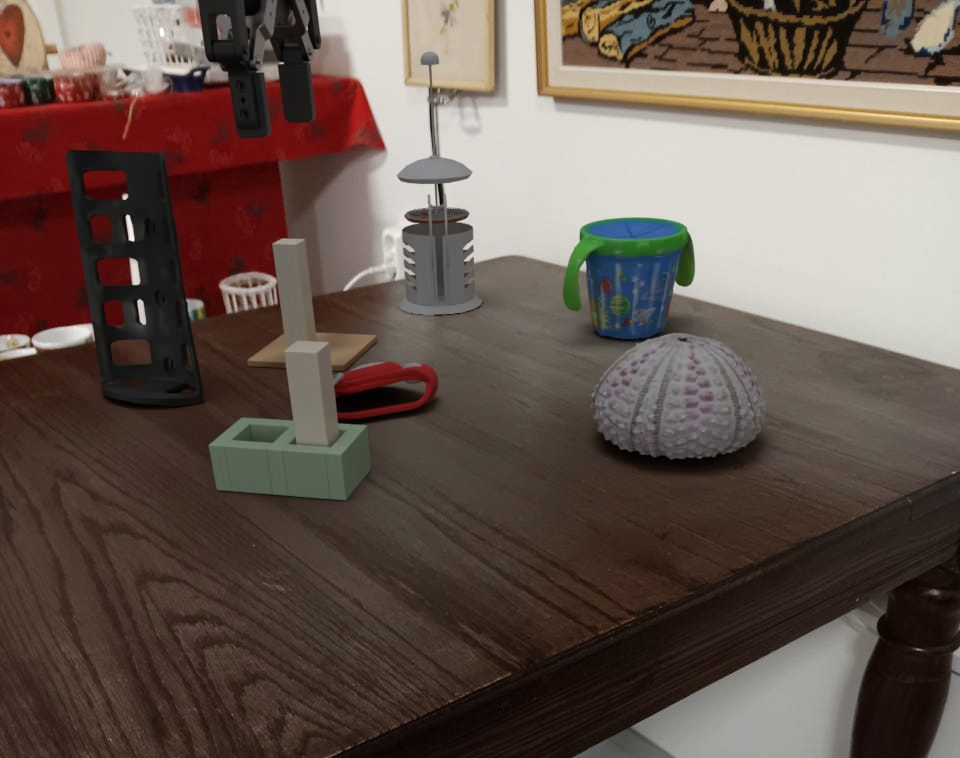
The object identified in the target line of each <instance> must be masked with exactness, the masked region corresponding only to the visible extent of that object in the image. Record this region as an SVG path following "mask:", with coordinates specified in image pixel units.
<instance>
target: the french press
mask: <svg viewBox="0 0 960 758" xmlns="http://www.w3.org/2000/svg"><path fill="white" fill-rule="evenodd" d="M420 65H421V66H428V74H429V93H430V94H429V95H430V96H429V97H430V115H431V117H430V118H431V136H432V137H431V139H432V155H430V156H428V157H426V158H420V159H417V160H415V161H413V162H411V163H409V164H407V165H405V166H404V167H403V169H401V170H400V171H399V173H397V174H396V177H397V179H398V180H399V181H400V182H402V183H406V184H416V185H434V200H435V205H433V204H432V203H431V200H432V199H431V194H427V204H428V206H427V207H421V208H417V209H416V208H414V209H412V210H409V211H407V212H406V213H405V214H404V215H403V216H404V218H405V220H406V221H408V222H410V223H413V224H409V225H406V226H405V227H403V228H402V229H401V236H402V237H401V239H402V242H403V244H404V245H405V246H409V247H410V248H411V249H412V250H413V251H410V250H408V248H406V247H402V251H403V252H402V253H403V256H405V257H406V258H407V259H410V260H411V261H412V262H413V263H412V262H409V261H408V260H406V259H403V266H404V268H405V269H406V270H408V271H411V273H413V274H410V273H409V272H408V271H404V278H405V279H406V281H408V282H410V283H412V284H413V285H409V284H408V283H407V282H405V283H404V286H405V287H404V288H405V296H404V298H403V299H402V300H401V301H400V303H399V304H398V307H399V309H400V310H401V311H403V312H406V313H409V314H411V313H413V314H412V315H419V314H421V315H420V316H434V315H433V314H454V313H460V312H465V311H468V310H471V309H474V308H476V307H478V306H479V305H480V304H481V302H482V301H483V299H481V298H480V297H479V296H478V295H477V294H476V289H475V288H476V284H475V279H473V280H472V281H471V282H470V283H469V281H470V279H472V278H473V277H474V276H475V268H472V269H471V270H470V272H467V271H468V269H469V268H471V267H472V266H473V265H474V264H475V257H474V256H472V257H471V258H470V259H469V260H467V261H466V259H468V257H469V256H471V255H472V254H473V253H474V252H475V249H474V248H475V247H474V244H471V245H470V247H468V248H467V249H464V248H465V247H466V246H467V245H468V244H470V243H471V242H472V241H473V240H474V226H472V225H471V224H468V223H465V222H462V221H464V220H466V219H468V218H469V216H470V214H471V213H470V212H469V210H467V209H466V208H460V207H454V206H453V207H452V206H450V207H449V206H448V207H447V205H448V204H447V194H446V193H443V194H442V195H443V196H442V197H443V198H442V199H443V202H442V204H440V205H438V204H439V203H438V185H439V184H441V185H442V184H451V183H457V182H462V181H464V180H468V179H469V178H470V177H471V176H472V174H473V173H474V172H473V171H472V170H471V169H470V168H468V167H467V166H466V165H465V164H464V163H462V162H460V161H457V160H455V159H452V158H447V157H443V156H442V157H441V156H440V155H437V154H436V140H435V137H436V136H435V117H434V116H435V115H434V94H433V74H432V71H433V70H432V66H435V65H440V58H439V55H438V54H437V53H436V52H435V51H425V52H424V53H422V55H421V56H420ZM465 313H466V312H465ZM422 314H423V315H422ZM454 315H455V314H454Z"/></svg>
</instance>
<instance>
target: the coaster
mask: <svg viewBox="0 0 960 758" xmlns="http://www.w3.org/2000/svg"><path fill="white" fill-rule="evenodd" d="M316 339H317V342H329V345H330V355H331V364H332V372H333V371H335V372H346V371H347V370H348V369H349V368H350V367H351V366H352V365H353V364H354V363H355V362H356V361H357V360H358V359H359V358H361V356H363V355H364V354H365V353H367V351H368V350H369V349H370V348H371V347H372V346H373V345H375V344H376V342H378V335H377V334H361V333H360V334H358V333H336V332H316ZM285 350H286V344H285V336H284V333H282V334H281V335H279V336H278V337H277V338H276V339H274V340H273V341H271V342H270V343H268V345H266V346H265V347H263V348H262V349H261V350H259V351H257V353H255V354H254V355H252V356H251V357H249V358H248V359H247V360H246V363H247V367H254V368H255V367H256V368H257V367H258V368H276V369H286V362H285V355H284V351H285Z"/></svg>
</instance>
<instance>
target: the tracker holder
mask: <svg viewBox="0 0 960 758" xmlns="http://www.w3.org/2000/svg"><path fill="white" fill-rule="evenodd" d="M333 382H334V391H335V399H337V397H343V396H349V395H352V394H357V393H361V392H364V391H367V390H372V389H376V388H380V387H385V386H389V385H393V384H397V383H401V382H405V383H407V384H409V385H410V384H412V385H413V384H416V385H417V384H419V383H422V382H423V383H424V384H425V385H426V386H425V391H424V393H423V395H422V396H421V397H420V398H419V399H418V400H415V401H410V402H409V401H408V402H404V403H397V404H392V405H387V406H381V407H376V408H375V407H374V408H368V409H363V410H357V411H351V412H337V419H338V421H349V420H350V421H351V420H361V419H367V418H373V417H379V416H383V415H384V416H386V415H390V414H395V413H401V412H406V411H412V410H416V409H418V408H421V407H423V406H425V405H428V404H429V402H431V401H432V400H433V399H434V397H435V396H436V395H437V392H438V389H439V377H438V374H437V372H436V370H435V369H434V368H433V367H432V366H431V365H429V364H427V363H419V362H410V363H409V362H408V363H406V364H404V365H403V366H402V365H401V364H399V363H398V362H394V361H376V362H375V361H374V362H369V363H365V364H362V365H359V366H356V367H354V368H352V369H350V370H346V371H343V372H339V373H337V374H335V375H334V374H333Z"/></svg>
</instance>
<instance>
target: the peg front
mask: <svg viewBox="0 0 960 758" xmlns="http://www.w3.org/2000/svg"><path fill="white" fill-rule="evenodd" d="M284 355H285V362H286V368H285V369H286V374H287V375H286V376H287V384H288V390H289V399H290V406H291V414H292V421H293V422H294V429H295V437H296V444H297V445H309V446H323V447H332V446H333V444H334V443H335V442H336V441H337V440H338V439H339V438H340V437H339V428H338V423H339V420H338V419H337V413H338V410H337V402H336V398H335V391H334V382H333V376H334V373H333V371H332V364H331V355H330V345H329V342H315V341H296V342H295V343H294V344H292V345H291V346H290V347H289V348H287V349H286V350H285V351H284Z"/></svg>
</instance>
